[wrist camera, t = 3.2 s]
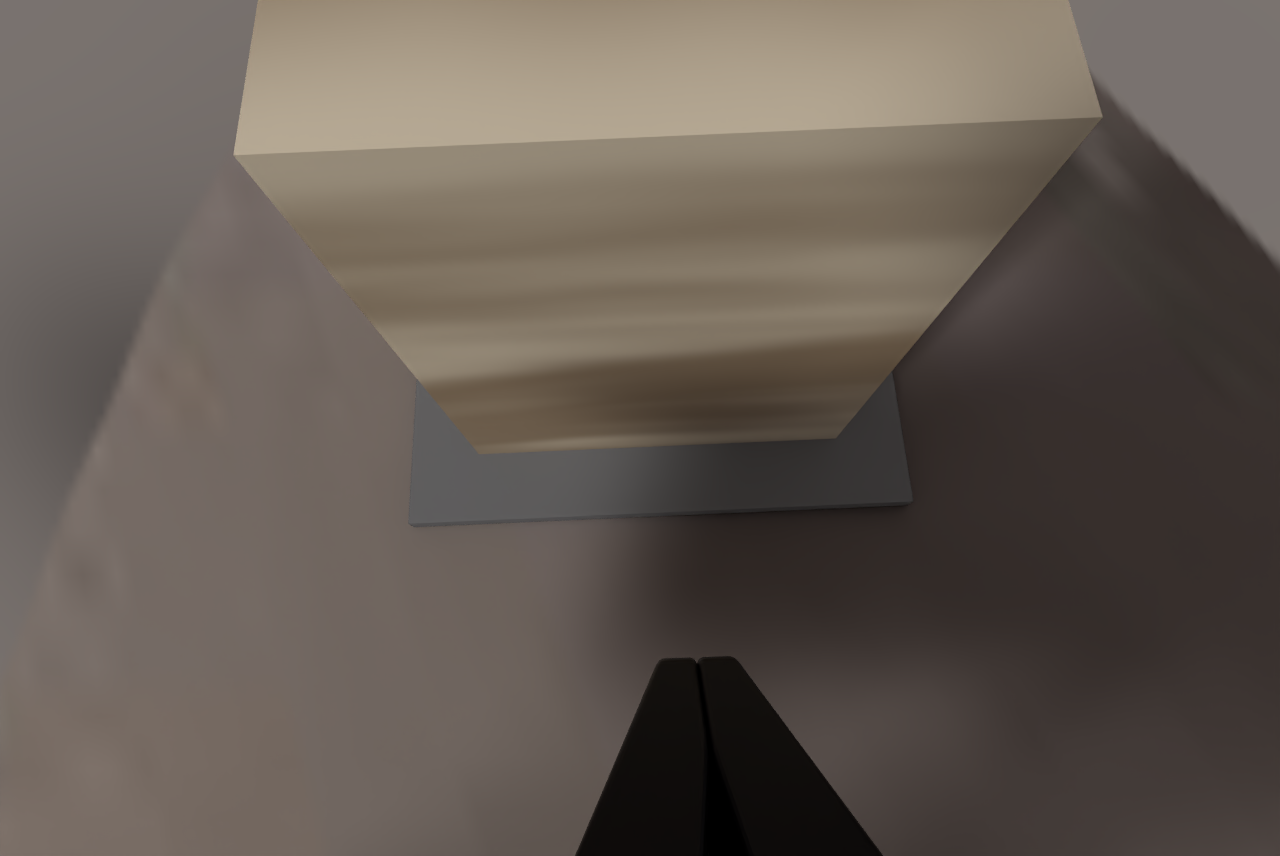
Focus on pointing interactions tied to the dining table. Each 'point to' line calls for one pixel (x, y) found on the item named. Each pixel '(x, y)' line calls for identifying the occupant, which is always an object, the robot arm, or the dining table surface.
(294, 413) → the dining table surface
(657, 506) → the mat
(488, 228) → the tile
